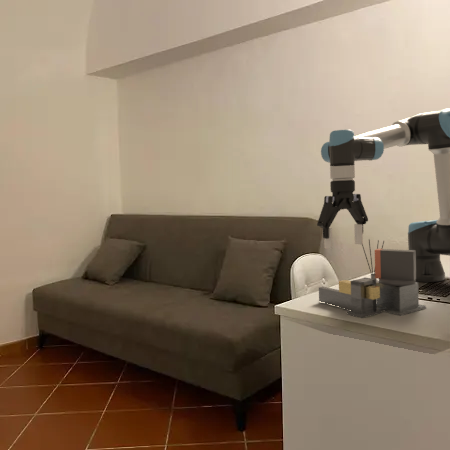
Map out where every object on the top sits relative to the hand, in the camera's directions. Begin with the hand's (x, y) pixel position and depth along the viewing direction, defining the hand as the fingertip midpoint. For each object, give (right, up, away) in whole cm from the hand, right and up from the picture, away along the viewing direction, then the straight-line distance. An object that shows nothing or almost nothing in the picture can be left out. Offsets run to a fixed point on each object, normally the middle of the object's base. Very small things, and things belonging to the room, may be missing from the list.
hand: (343, 246), depth 160 cm
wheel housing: (+17, -20, 0) cm, 26 cm away
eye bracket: (+1, -20, +2) cm, 20 cm away
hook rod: (+4, -15, -3) cm, 16 cm away
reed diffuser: (+16, -18, +18) cm, 30 cm away
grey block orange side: (+16, -11, -1) cm, 20 cm away
